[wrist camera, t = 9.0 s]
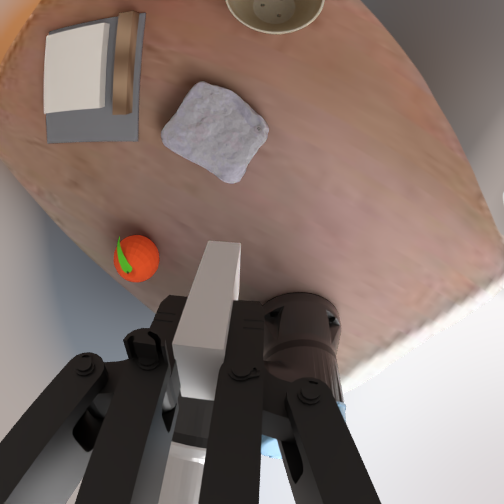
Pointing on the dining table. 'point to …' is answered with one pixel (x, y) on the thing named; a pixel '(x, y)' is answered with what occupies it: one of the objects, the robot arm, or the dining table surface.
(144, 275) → the clementine
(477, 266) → the dining table surface
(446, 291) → the dining table surface
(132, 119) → the mat
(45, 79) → the tile
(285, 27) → the flower pot
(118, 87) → the strip
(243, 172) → the stone block
